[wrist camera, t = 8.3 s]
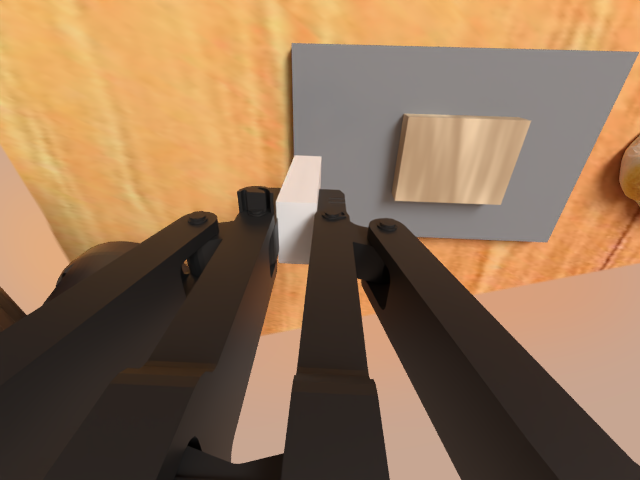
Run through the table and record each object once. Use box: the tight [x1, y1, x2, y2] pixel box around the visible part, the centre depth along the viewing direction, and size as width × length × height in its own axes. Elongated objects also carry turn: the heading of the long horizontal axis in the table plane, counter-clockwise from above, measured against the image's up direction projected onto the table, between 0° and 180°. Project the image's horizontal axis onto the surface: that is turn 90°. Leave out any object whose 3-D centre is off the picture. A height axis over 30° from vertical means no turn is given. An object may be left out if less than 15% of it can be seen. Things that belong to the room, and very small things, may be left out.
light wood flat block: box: [392, 114, 531, 205], centre depth 22 cm, size 2×6×8 cm
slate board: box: [292, 43, 639, 242], centre depth 23 cm, size 22×14×1 cm, turn 89°
